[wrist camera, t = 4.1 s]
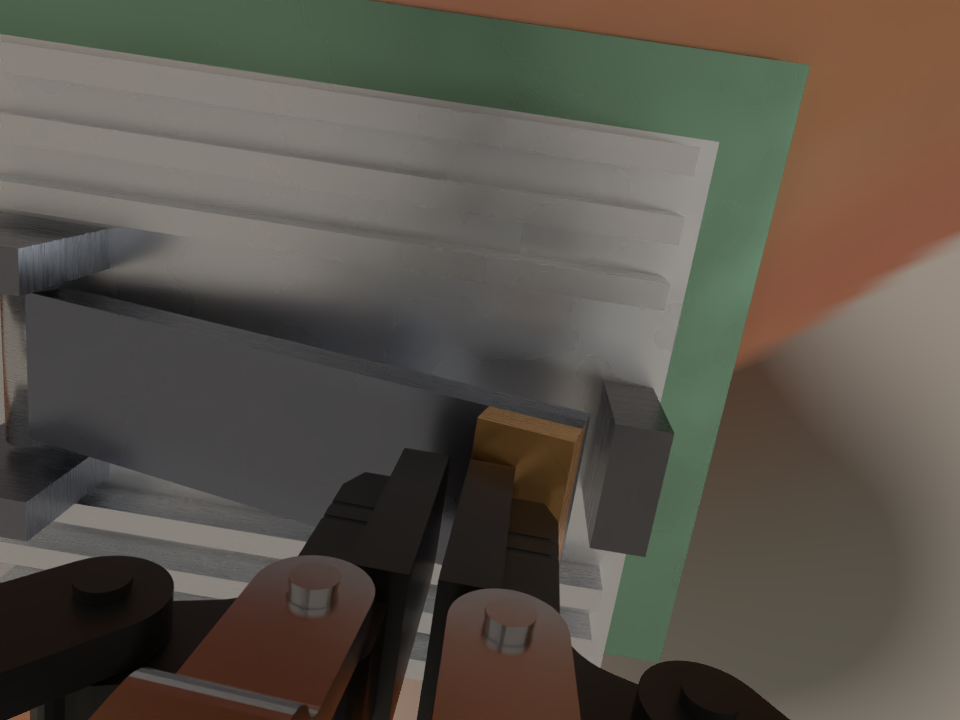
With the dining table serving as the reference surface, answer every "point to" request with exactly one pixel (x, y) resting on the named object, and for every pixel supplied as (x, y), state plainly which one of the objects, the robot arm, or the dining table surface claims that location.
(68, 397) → the lever
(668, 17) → the dining table surface
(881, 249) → the dining table surface
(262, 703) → the robot arm
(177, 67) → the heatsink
